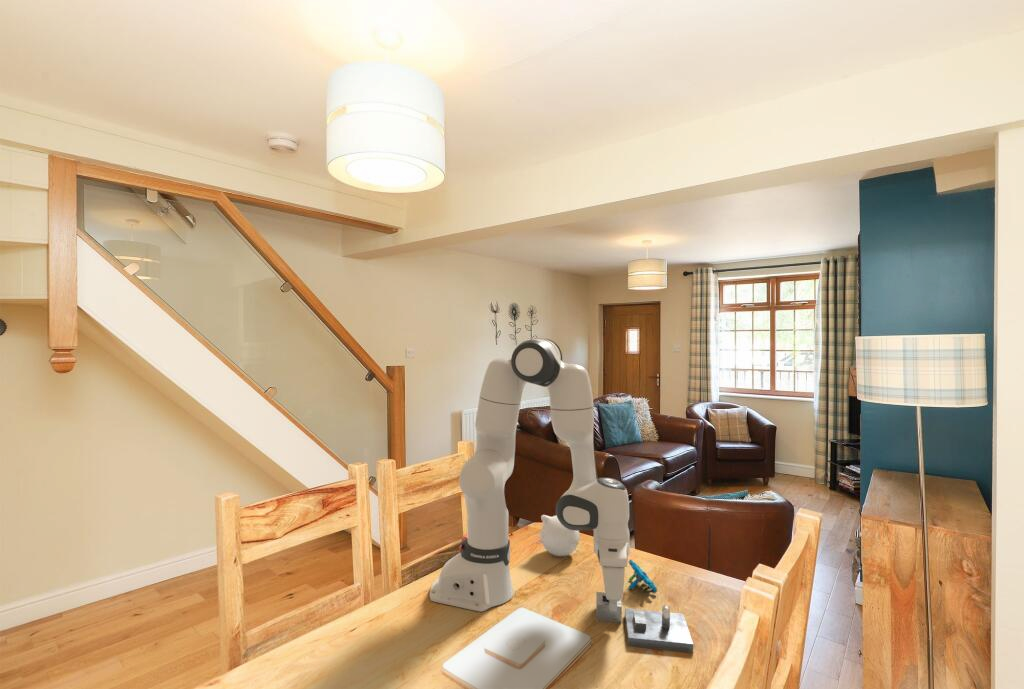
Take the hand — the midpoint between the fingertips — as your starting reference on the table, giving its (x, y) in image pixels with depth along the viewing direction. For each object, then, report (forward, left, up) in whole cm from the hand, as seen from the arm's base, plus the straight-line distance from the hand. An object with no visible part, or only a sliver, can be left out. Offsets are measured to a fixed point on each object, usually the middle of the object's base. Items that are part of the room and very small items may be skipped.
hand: (612, 599), depth 126 cm
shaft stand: (+10, -6, -4) cm, 13 cm away
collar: (-1, 0, -4) cm, 4 cm away
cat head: (-15, +32, -4) cm, 35 cm away
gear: (+9, +15, -4) cm, 18 cm away
